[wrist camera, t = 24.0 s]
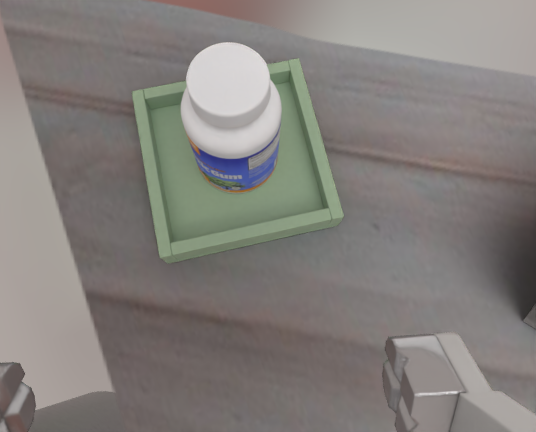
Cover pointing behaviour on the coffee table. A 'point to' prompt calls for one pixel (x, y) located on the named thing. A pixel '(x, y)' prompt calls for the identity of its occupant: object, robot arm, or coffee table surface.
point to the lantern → (531, 317)
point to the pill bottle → (232, 117)
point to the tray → (227, 204)
